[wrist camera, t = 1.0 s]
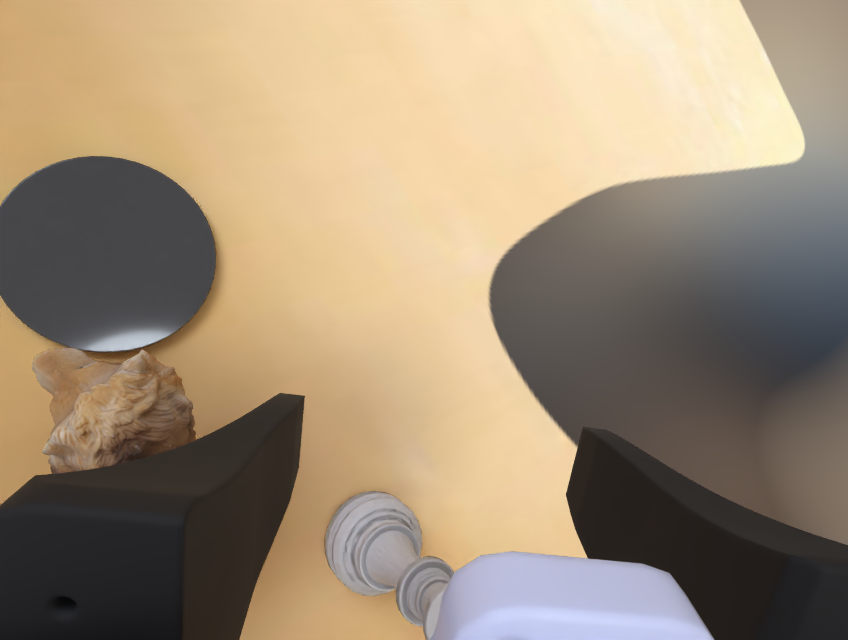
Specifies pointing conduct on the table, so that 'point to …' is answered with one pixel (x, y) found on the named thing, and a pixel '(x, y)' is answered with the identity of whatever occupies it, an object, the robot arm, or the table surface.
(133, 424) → the lion figurine
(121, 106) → the table surface
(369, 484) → the table surface
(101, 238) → the coaster
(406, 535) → the chess piece
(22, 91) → the table surface
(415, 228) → the table surface
